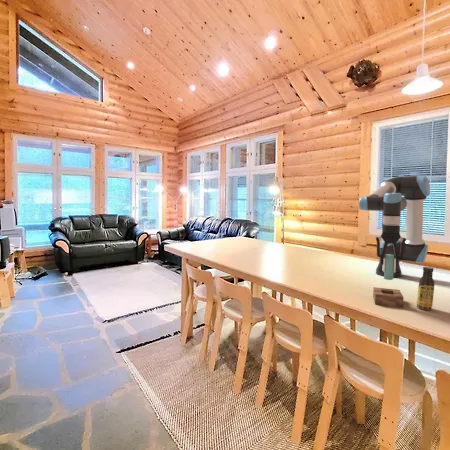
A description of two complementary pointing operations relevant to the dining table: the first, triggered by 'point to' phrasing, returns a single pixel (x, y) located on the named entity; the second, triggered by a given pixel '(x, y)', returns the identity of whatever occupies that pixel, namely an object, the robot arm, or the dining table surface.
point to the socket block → (388, 297)
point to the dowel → (389, 267)
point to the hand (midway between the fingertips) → (388, 271)
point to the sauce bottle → (426, 290)
